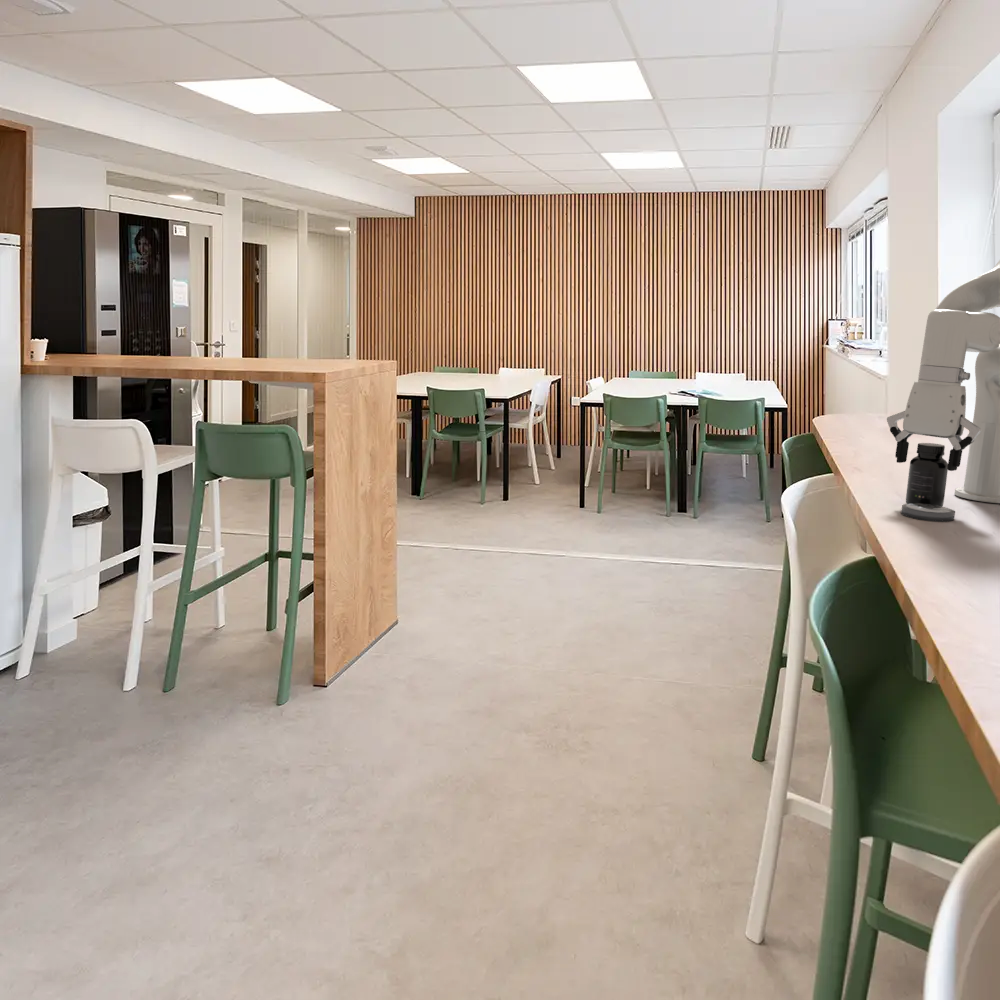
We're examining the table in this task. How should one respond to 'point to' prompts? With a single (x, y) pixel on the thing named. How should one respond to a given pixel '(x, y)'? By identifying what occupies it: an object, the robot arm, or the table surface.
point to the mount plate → (928, 512)
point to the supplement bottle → (927, 475)
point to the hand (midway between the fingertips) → (926, 466)
